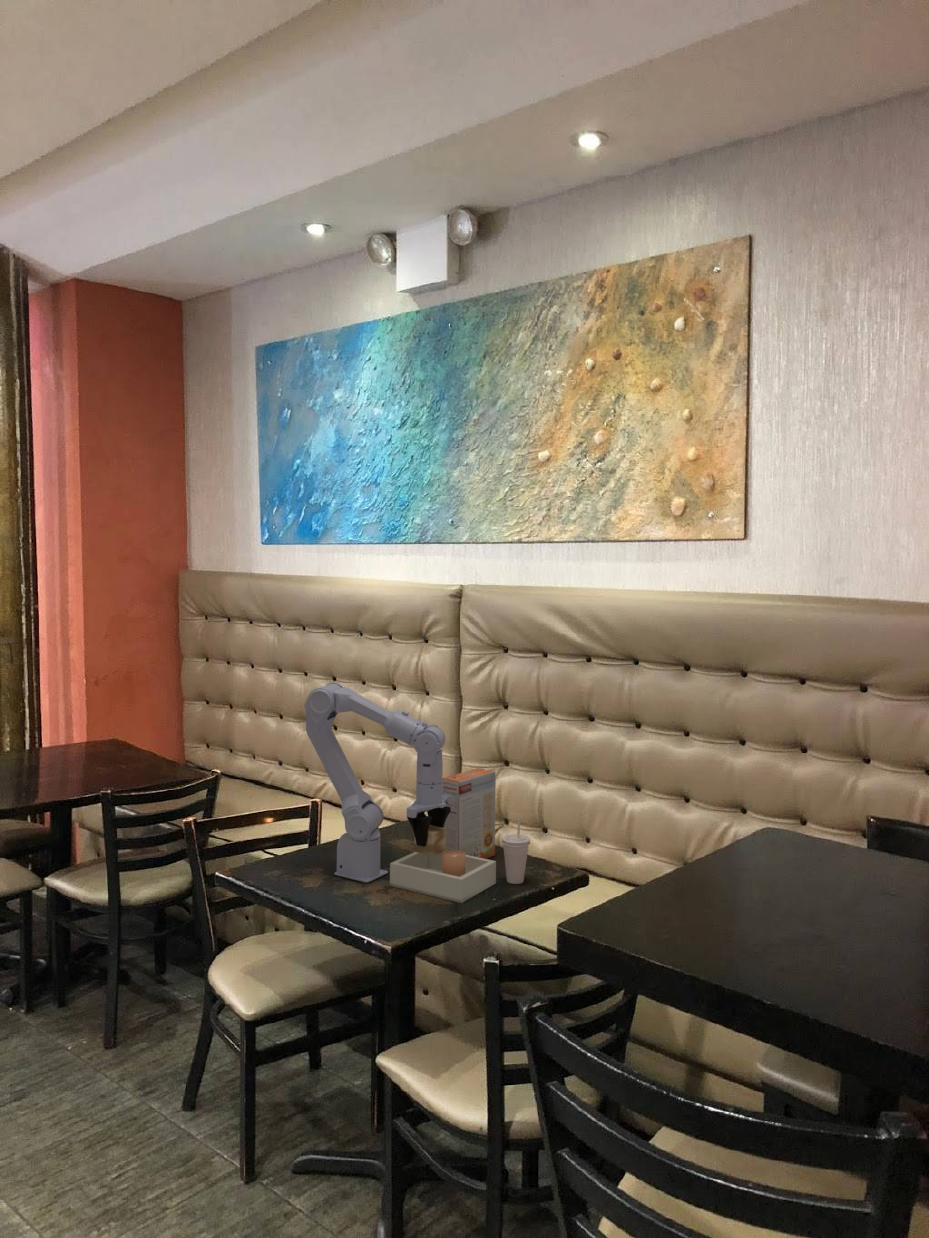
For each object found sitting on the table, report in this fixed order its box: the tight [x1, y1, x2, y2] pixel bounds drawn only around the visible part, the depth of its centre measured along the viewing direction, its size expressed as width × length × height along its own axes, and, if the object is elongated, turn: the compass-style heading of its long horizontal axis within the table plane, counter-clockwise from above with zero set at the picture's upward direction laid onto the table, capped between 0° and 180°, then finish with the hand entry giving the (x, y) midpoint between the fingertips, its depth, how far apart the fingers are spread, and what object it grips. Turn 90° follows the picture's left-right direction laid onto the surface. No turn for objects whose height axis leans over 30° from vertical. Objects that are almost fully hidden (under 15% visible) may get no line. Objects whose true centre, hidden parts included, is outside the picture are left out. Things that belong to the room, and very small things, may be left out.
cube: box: [413, 825, 446, 856], centre depth 211 cm, size 5×5×5 cm
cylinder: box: [442, 850, 466, 877], centre depth 207 cm, size 5×5×7 cm
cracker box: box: [442, 767, 496, 859], centre depth 225 cm, size 14×6×21 cm, turn 141°
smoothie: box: [501, 818, 531, 885], centre depth 212 cm, size 6×6×14 cm
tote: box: [389, 851, 497, 904], centre depth 209 cm, size 18×14×5 cm
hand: (428, 842), depth 211 cm, fingers closed on cube, 5 cm apart
